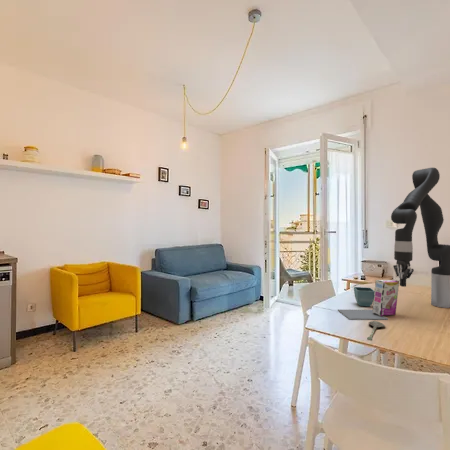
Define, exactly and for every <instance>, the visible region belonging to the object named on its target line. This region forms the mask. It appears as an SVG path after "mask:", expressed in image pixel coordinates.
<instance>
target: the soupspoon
mask: <svg viewBox="0 0 450 450" xmlns="http://www.w3.org/2000/svg"><path fill="white" fill-rule="evenodd" d="M368 324H369V325H370V326H372V327H373V328H372V330H371V333H370V334H369V336H368V337H366V338H367V340H368V341H373V339H372V338H373V335H374V333H375V331H376V329H377V328H383V327H386V325H385V324H384V323H382V322H380V321H378V320H370V321H369V322H368Z"/></svg>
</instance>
